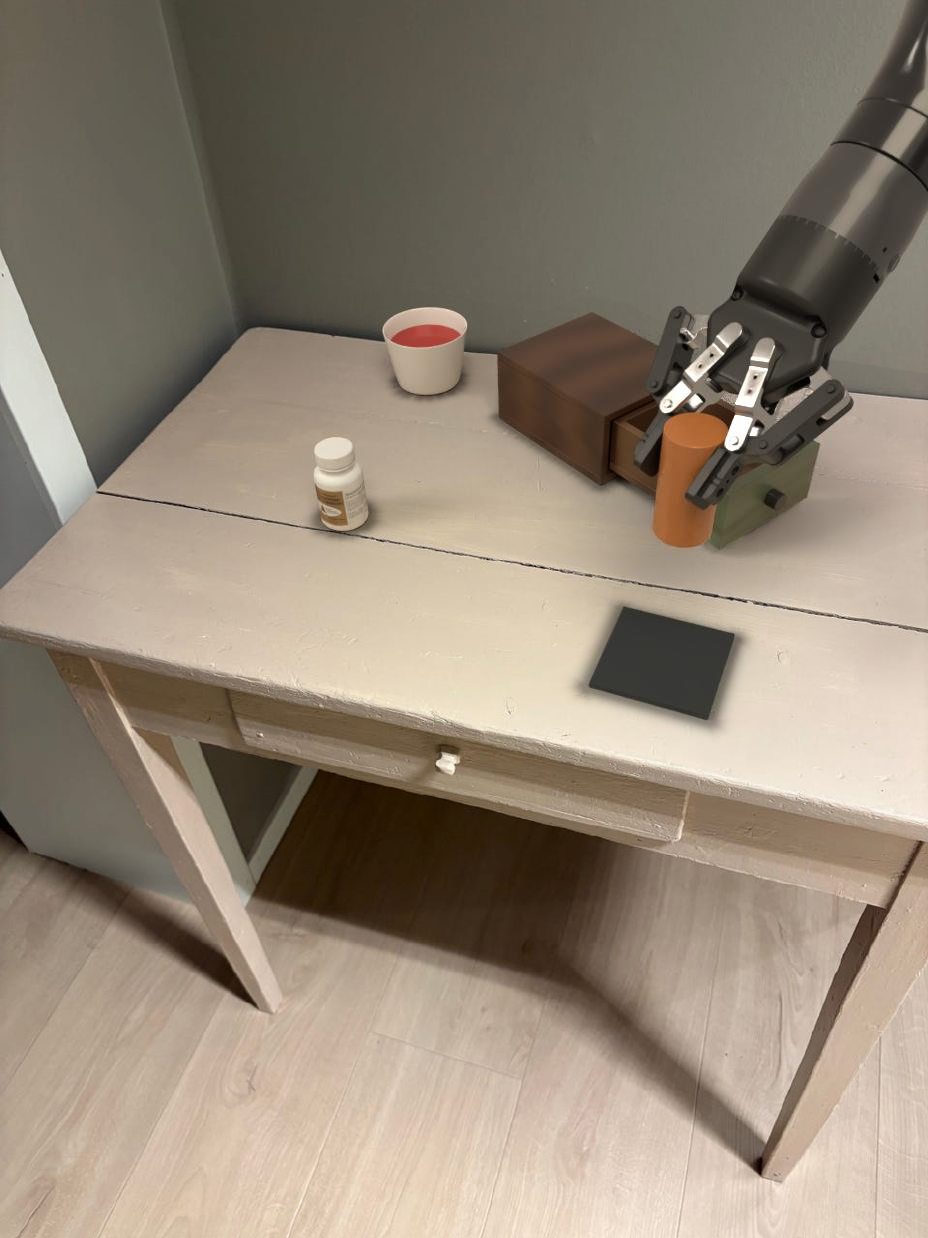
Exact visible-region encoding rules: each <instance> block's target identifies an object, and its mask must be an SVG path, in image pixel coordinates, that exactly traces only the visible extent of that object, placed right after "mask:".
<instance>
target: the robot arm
mask: <svg viewBox="0 0 928 1238" xmlns="http://www.w3.org/2000/svg"><path fill="white" fill-rule="evenodd" d="M847 117H848V118H847V119H846V120H845V122H844V123H843V124H842V127H840V129H839V130H838V132H837V134H836V135H835V137H834V138H833V140H832V141H831V143H830V145H829V146H828V147H827V149H826V150H825V151H824V153H823V154H822V156H821V157H820V158H819V159H818V160H817V161H816V163H814V165H813V166H812V167H811V168H810V170H809V171H808V172H807V173H806V174H805V176H803V178H802V179H801V181H799V183H798V185H797V186H796V188H795V189H794V191H793V192H792V194H791V196H790V197H789V199H788V200H787V202H786V203H785V204H784V206H783V208H782V209H781V211H780V212H779V214H778V215H777V217H776V218H775V220H774V221H773V223H772V224H771V225H770V227H769V229H768V230H767V231H766V233H765V235H764V236H763V237H762V239H761V241H760V242H759V244H757V246H756V248H755V250H754V251H753V253H752V255H751V256H750V257H749V259H748V261H747V262H746V263H745V265H744V267H743V268H742V269H741V271H740V272H739V274H738V275H737V278H736V281H735V284H734V288H733V290H732V293H731V294H730V296H729V297H728V298H727V300H726V301H724V302H723V303H721V304H720V305H719V306H717V307H716V308H715V309H714V310H713V311H712V312H711V313H710V314H708V313H707V314H706V313H691V312H689V311H688V309H686V307H684V306H683V305H677V306H675V307H673V308H672V309H671V310H670V312H669V314H668V317H667V320H666V323H665V326H664V329H663V331H662V335H661V339H660V341H659V343H658V349H657V352H656V355H655V358H654V361H653V364H652V367H651V370H650V373H649V376H648V379H647V382H646V390H647V391H648V392H649V393H650V394H651V395H652V397H653V398H654V399H655V401H656V402H657V404H658V407H659V410H658V413H657V415H656V417H655V419H654V420H653V422H652V423H651V425H650V426H649V428H648V429H647V431H646V432H645V434H644V435H643V437H642V438H641V440H640V441H639V443H638V444H637V446H636V447H635V451H634V455H635V456H636V457H635V458H634V461H633V465H634V467H636V468H637V469H639V470H640V471H642V472H643V473H645V474H646V475H648V476H650V477H654V476H655V475H656V474H657V473H658V471H659V463H660V455H661V446H662V437H663V428H664V425H665V423H666V422H667V421H668V420H669V419H670V418H672V417H673V416H676V415H679V414H683V413H700V412H701V411H702V410H703V409H704V408H705V407H706V406H708V405H712V404H715V403H716V402H718V401H719V400H720V399H722V398H723V397H724V396H725V395H726V394H727V393H728V394H731V395H736V396H737V398H736V401H735V403H734V406H735V416H734V419H733V421H732V424H731V426H730V429H729V431H728V434H727V437H726V439H725V446H724V447H723V449H722V448H720V447H719V446H717V448H716V449H715V450H714V452H713V453H712V455H711V456H710V458H709V459H708V460H707V462H706V463H705V465H704V466H703V468H702V469H701V471H700V472H699V474H698V475H697V476H696V478H695V479H694V481H693V482H692V484H691V485H690V487H689V488H688V490H687V491H686V493H685V499H686V500H688V501H689V502H690V503H692V504H693V505H695V506H696V507H698V508H700V509H701V510H705V509H707V508H708V507H709V505H710V504H712V505H713V506H715V505H716V504H717V503H719V502H720V501H721V500H722V499H723V497H724V496H725V494H726V492H727V491H728V490H729V489H730V487H731V486H732V484H733V483H734V481H735V480H736V478H737V477H738V476H739V474H740V473H741V471H742V470H743V469H744V467H745V466H747V465H748V464H750V463H753V462H757V463H765V464H769V465H770V466H771V467H775V468H777V467H780V466H782V465H783V464H785V463H786V462H787V461H788V460H789V459H791V458H792V457H793V456H794V455H796V454H797V453H798V452H799V451H801V450H802V449H803V448H804V447H806V446H807V445H808V444H809V443H810V442H812V441H813V440H814V441H815V439H817V438H818V437H819V436H820V435H822V434H823V433H825V431H827V430H828V429H829V428H830V427H831V426H833V425H835V424H836V423H837V422H838V421H839V420H840V419H841V418H843V417H844V416H845V415H847V414H848V413H849V412H850V411H851V410H852V409H853V407H854V402H855V401H854V399H853V397H852V396H851V394H850V392H849V390H847V388H846V387H845V385H843V384H842V383H841V382H840V380H838V379H835V378H833V377H832V376H831V374H830V373H829V372H828V370H829V368H830V361H831V356H832V354H833V351H834V350H835V348H836V347H837V346H838V345H839V344H841V343H842V342H843V341H844V340H845V338H846V337H847V336H848V334H849V333H850V331H851V330H852V329H853V327H854V326H855V324H856V323H857V322H858V320H859V318H860V317H861V315H863V313H864V311H865V310H866V309H867V307H868V305H870V303H871V301H872V300H873V298H874V297H875V296H876V295H877V293H878V292H879V290H880V288H882V285H884V282H885V281H886V280H887V278H888V277H889V276H890V274H891V273H892V272H894V271H895V269H897V267H898V265H899V263H900V261H901V258H902V257H903V256H904V254H905V253H906V251H907V250H908V248H909V247H910V245H911V243H912V242H913V239H914V238H915V236H916V234H917V233H918V230H919V228H920V226H921V225H922V222H923V221H924V219H925V218H926V216H927V215H928V0H905V1H904V4H903V7H902V10H901V13H900V16H899V19H898V22H897V23H896V26H895V29H894V32H893V35H892V37H891V40H890V42H889V44H888V47H887V49H886V51H885V54H884V56H883V58H882V60H881V62H880V65H879V67H878V68H877V70H876V72H875V74H874V76H873V77H872V79H871V81H870V83H869V85H868V86H867V87H866V89H865V91H864V93H863V94H862V96H861V97H860V99H859V100H858V101H857V104H856V106H855V107H854V108H853V110H852V111H851V113H850V114H849V115H848V116H847ZM705 339H706V344H705V345H706V347H705V350H704V351H703V352H702V353H701V354H700V355H699V356H698V357H696V359H694V361H693V362H691V361H692V358H693V356H694V352H695V349H696V350H699V349H700V348H701V347H702V345H703V341H704V340H705ZM690 362H691V363H692V364H691V365H690V366H689V364H690ZM708 378H709V380H708ZM807 387H808V388H807ZM805 388H806V389H805ZM803 389H805V391H804V392H803V395H802V401H800V402H799V403H798V404H796V406H794V407H793V408H792V409H790V410H789V411H788V412H787V413H786V414H785V415H783V416H782V417H781V418H780V419H779V420H778V421H777V422H776V420H777V418H778V416H779V413H780V411H781V408H782V406H783V403H784V399H785V398H787V397H789V396H791V395H793V394H795V393H797V392H799V391H801V390H803Z"/></svg>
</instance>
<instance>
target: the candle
mask: <svg viewBox="0 0 928 1238" xmlns="http://www.w3.org/2000/svg"><path fill="white" fill-rule="evenodd" d="M467 331H468V322H467V320H466V318H465V317H464V316H463V315H461V314H460V313H458V312H457V311H454V310H451V309H449V308H448V309H447V308H443V307H431V306H430V307H429V306H428V307H416V308H411V309H408V310H404V311H402V312H399V313H396V314H394V315H393V316H391V317H389V318H388V319H387V320H386V322H385V323H384V324H383V326H382V335H383V339H384V342H385V345H386V348H387V351H388V355H389V359H390V361H391V364H392V368H393V371H394V374H395V378H396V380H397V382H398V385H399V387H400V388H402V389H403V390H404V391H406V392H408V393H410V394H413V395H419V396H433V395H439V394H443V393H446V392H447V391H450V390H451V389H453V388H454V387H455V386H457V384H458V383H459V382H460V379H461V376H462V369H463V368H462V367H463V362H464V355H465V354H464V353H465V348H466V340H467V333H468V332H467Z"/></svg>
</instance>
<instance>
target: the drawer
mask: <svg viewBox="0 0 928 1238" xmlns="http://www.w3.org/2000/svg"><path fill="white" fill-rule="evenodd" d="M658 410H659V407H658V404H657V402H656V401H655V400H654V401H652V402H650V403H648V404H646V405H644V406H642V407H640V408H638V409H636V410H634V411H632V412H629V413H627V414H625V415H623V416H621V417H619V418H617V419H615V420H613V424H612V438H611V452H610V469H611V470H613V471H614V472H616V473H617V474H619V477H622V478H624V479H625V480H626V481H628V482H630V483H631V484H633V485H634V486H636V487H637V488H638V489H641V490H642V491H644V492H645V493H646V494H648V495H649V496H651V497H653V498H654V499H656V490H657V481H658V473H657V474H656V475H655V476H654V477H650V476H648V475H646V474H645V473H643V472H642V471H640V470H639V469H637V468H636V467H634V465H633V461H634V458H635V457H636V456H635V455H634V451H635V447H636V446H637V444H638V443H639V441H640V440H641V438H642V437H643V435H644V434H645V432H646V431H647V429H648V428H649V426H650V425H651V423H652V422H653V420H654V419H655V417H656V415H657V413H658ZM700 413H704V414H708V415H711V416H714V417H716V418H718V419H720V420H721V421H723V422H724V423H725V424H726V426H727V428H728V431H729V429H730V426H731V424H732V421H733V419H734V416H735V405H733V404H731V403H730V402H727V401H725V400H724V399H722V398H721V399H720V400H719V401H718V402H716V403H715V404H712V405H708V406H706V407H705V408H704V409H703V410H702V411H701V412H700ZM820 446H821V443H820V442H819V441H816V440H815V439H814V440H813V441H812V442H810V443H809V444H808V445H807V446H806V447H804V448H803V449H802V450H801V451H799V452H798V453H797V454H796V455H794V456H793V457H792V458H791V459H789V460H788V461H787V462H786V463H785V464H783V465H782V466H780V467H777V468H775V467H771V466H770V465H769V464H765V463H757V462H753V463H750V464H748V465H747V466H745V467H744V469H743V470H742V471H741V473H740V474H739V476H738V477H737V478H736V480H735V481H734V483H733V484H732V486H731V487H730V489H729V490H728V491H727V492H726V494H725V496H724V497H723V499H722V500H721V501H720V502H719V503H717V505H716V511H715V517H714V523H713V529H712V534H711V536H710V538H709V540H708V543H709V545H711V546H713V547H714V548H716V549H717V550H719V551H720V550H721V549H723V548H725V547H727V546H728V545H730V544H731V543H733V542H735V541H737V540H739V539H740V538H742V537H744V536H745V535H746V534H749V533H750V532H752V531H753V530H755V529H757V528H758V527H760V526H762V525H764V524H765V523H767V522H769V521H770V520H772V519H774V518H775V517H777V516H779V515H781V514H782V513H784V512H786V511H787V510H788V509H790V508H792V507H793V506H796V505H798V503H800V502H802V501H803V500H806V499H807V498H808V494H809V491H810V487H811V483H812V479H813V474H814V471H815V466H816V462H817V458H818V454H819V452H820V451H819V450H820V448H821V447H820ZM658 472H659V471H658Z"/></svg>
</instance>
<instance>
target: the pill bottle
mask: <svg viewBox="0 0 928 1238" xmlns="http://www.w3.org/2000/svg"><path fill="white" fill-rule="evenodd" d="M313 453H314V460H315V463H316V467H314V470H313V476H312V477H313V482H314V488H315V493H316V498H317V503H318V509H319V512H320V518H321V522H322V524H323V525H324V526H325V527H327V528H329V529H331V530H333V531H336V532H337V531H339V532H347V531H352V530H355V529H357V528H359V527H361V526H362V525H363V524H364V523H365V522H367V520H368V518H369V506H368V505H369V504H368V497H367V491H366V485H365V478H364V472H363V468H362V466H361V464H360V462H359V461H357V460H356V453H355V448H354V443H352V441H351V440H350V439H347V438H346V437H339V436H334V437H333V436H332V437H327V438H325V439H322V440H320V441H319V442H318V443H316V445H315V446H314V449H313Z"/></svg>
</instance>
